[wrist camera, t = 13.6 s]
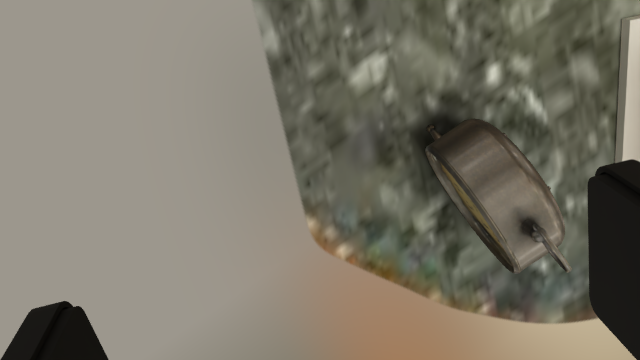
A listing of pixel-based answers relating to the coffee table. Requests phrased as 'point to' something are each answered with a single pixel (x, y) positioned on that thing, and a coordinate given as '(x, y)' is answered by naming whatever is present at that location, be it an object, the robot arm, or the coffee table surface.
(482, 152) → the alarm clock
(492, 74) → the coffee table surface
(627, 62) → the brick tower
